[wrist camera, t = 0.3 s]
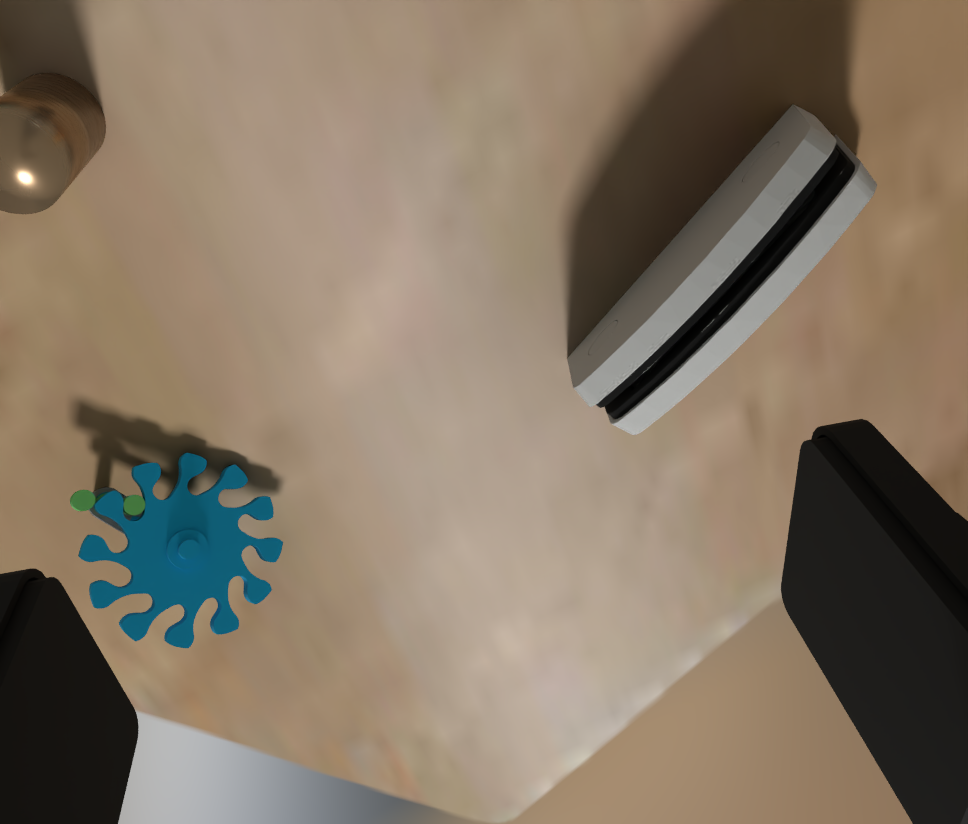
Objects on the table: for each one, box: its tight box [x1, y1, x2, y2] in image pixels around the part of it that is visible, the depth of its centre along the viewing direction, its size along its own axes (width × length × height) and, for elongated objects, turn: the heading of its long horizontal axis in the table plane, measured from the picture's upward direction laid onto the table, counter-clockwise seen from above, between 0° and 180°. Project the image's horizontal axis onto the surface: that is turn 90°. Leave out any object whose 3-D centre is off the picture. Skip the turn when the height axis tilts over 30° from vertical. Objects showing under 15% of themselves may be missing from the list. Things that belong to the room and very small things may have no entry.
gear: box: [70, 453, 283, 648], centre depth 44 cm, size 11×6×10 cm
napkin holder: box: [567, 104, 877, 435], centre depth 38 cm, size 17×5×10 cm, turn 142°
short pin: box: [0, 73, 106, 214], centre depth 31 cm, size 4×4×6 cm
